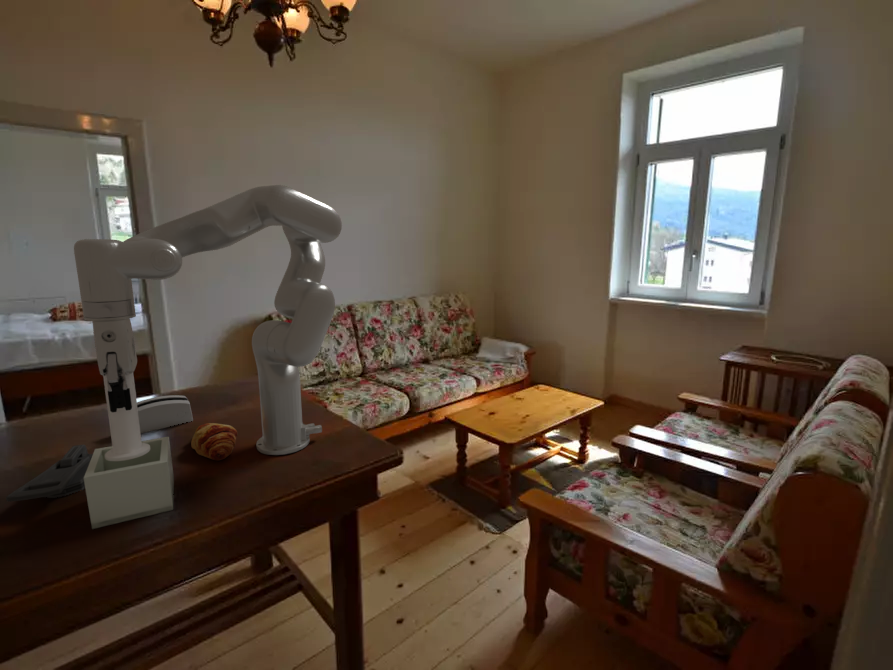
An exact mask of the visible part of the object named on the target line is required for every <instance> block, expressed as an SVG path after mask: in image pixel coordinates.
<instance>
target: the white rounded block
mask: <svg viewBox="0 0 893 670" xmlns="http://www.w3.org/2000/svg"><path fill="white" fill-rule="evenodd" d="M137 408H138V417H139V425H140V433H141V434H145V433H148V432H153V431H157V430H162V429H166V428H170V426H171V427H175V426H179V425H183V424H182V423H184V424H187V423H186V422H188V423H192V422H193V421H194V418H193V413H192V412H193V411H192V408H191V403H190V401H189V399H188V397H186V396H185V395H178V394H177V395H175V394H174V395H173V394H172V395H162V396H154V397H151V398H146V399H143V400H140V401H137ZM191 421H192V422H191ZM178 424H179V425H178ZM174 425H175V426H174Z"/></svg>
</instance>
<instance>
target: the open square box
mask: <svg viewBox="0 0 893 670" xmlns="http://www.w3.org/2000/svg"><path fill="white" fill-rule="evenodd" d="M141 442H142V443H146V444H149V445H150V451H149V452H148V453H146V454H145V455H142V456H140V457H137V458H134V459H130V460H125V461H108V460H106V459H105V454H106V452H108V451H109V450H111V449H113V447H112V445H111V446H110V445H109V446H107V447H105V446H104V447H99V448H94V451H93V453H92V454H93V456H92V458H91V461H90V463H89V466H88V468H87V471H86V473H85V476H84V483H85V488H84V489H85V495H86V499H87V501H86V502H87V506H88V507H87V508H88V512H89V518H90V524H91V529H92V530H94V529H100V528H103V527H106V526H110V525H115V524H119V523H122V522H128V521H133V520H135V519H141V518H144V517H148V516H153V515H157V514H162V513H166V512H169V511H173V510H174V495H173V494H175V493H174V491H175V477H174V470H173V461H172V460H173V459H172V452H171V445H170V437H169V436H164V437H163V436H162V437H158V438H152V439H146V440H141Z"/></svg>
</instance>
